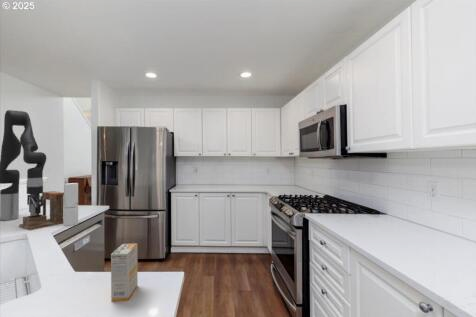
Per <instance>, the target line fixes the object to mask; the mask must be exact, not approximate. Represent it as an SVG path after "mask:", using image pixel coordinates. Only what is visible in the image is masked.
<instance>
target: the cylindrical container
mask: <svg viewBox="0 0 476 317" xmlns="http://www.w3.org/2000/svg"><path fill="white" fill-rule="evenodd" d="M63 192H64V214H63V226H64V227H73V226H77V225H79V182H71V183H70V182H69V183H63Z"/></svg>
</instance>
